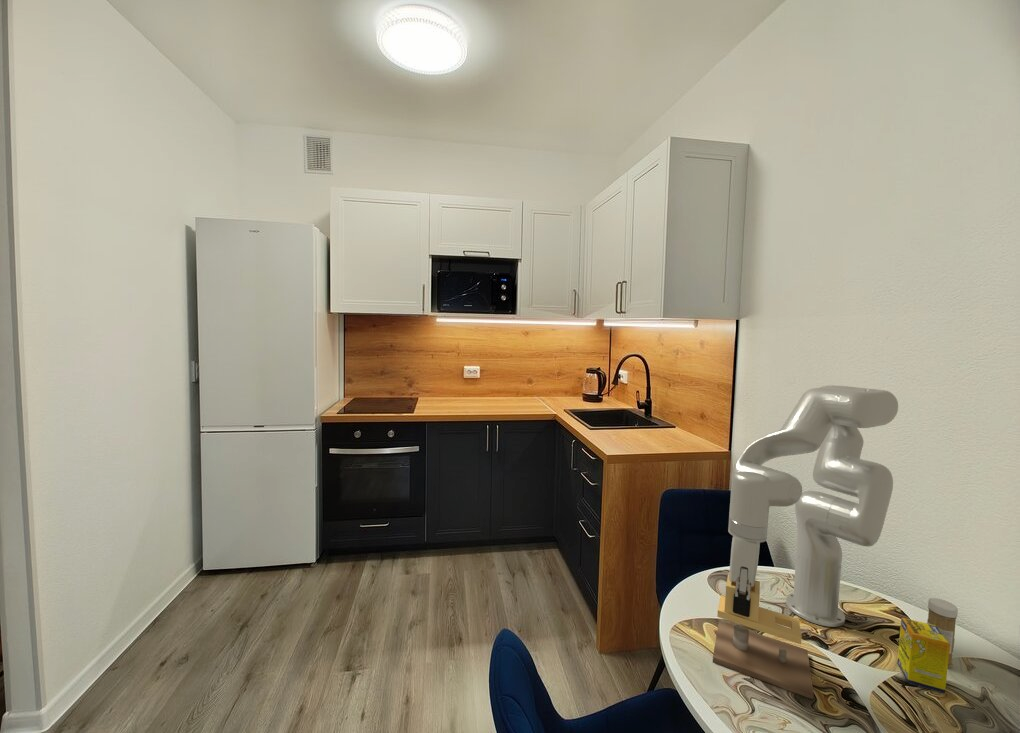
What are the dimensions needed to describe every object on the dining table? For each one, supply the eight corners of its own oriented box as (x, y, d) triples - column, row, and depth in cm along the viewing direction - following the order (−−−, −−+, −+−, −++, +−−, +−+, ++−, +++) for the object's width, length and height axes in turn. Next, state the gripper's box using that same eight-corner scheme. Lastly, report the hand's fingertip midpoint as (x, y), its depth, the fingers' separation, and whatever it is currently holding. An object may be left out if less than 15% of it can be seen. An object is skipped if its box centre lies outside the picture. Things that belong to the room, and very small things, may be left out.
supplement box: (896, 663, 93) (900, 616, 93) (932, 673, 91) (936, 625, 90) (907, 683, 88) (911, 633, 87) (946, 694, 85) (951, 643, 85)
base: (718, 625, 105) (719, 605, 104) (806, 654, 95) (808, 632, 95) (712, 661, 93) (713, 639, 92) (813, 699, 83) (814, 674, 83)
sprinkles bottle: (954, 663, 94) (960, 605, 93) (949, 671, 91) (955, 612, 90) (926, 650, 98) (931, 594, 97) (920, 658, 95) (925, 601, 94)
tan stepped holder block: (717, 616, 95) (719, 584, 94) (720, 600, 101) (722, 570, 100) (800, 644, 87) (803, 609, 86) (798, 625, 93) (801, 592, 92)
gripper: (731, 511, 103) (726, 582, 104) (725, 538, 89) (719, 620, 90) (766, 519, 100) (761, 592, 101) (767, 548, 85) (760, 634, 86)
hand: (741, 605), depth 95 cm, fingers closed on tan stepped holder block, 6 cm apart
